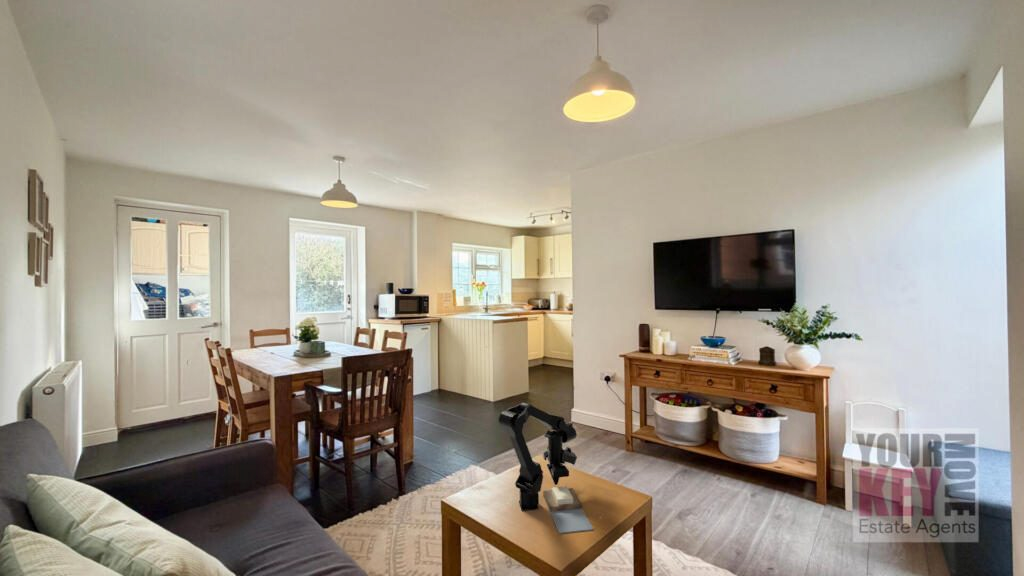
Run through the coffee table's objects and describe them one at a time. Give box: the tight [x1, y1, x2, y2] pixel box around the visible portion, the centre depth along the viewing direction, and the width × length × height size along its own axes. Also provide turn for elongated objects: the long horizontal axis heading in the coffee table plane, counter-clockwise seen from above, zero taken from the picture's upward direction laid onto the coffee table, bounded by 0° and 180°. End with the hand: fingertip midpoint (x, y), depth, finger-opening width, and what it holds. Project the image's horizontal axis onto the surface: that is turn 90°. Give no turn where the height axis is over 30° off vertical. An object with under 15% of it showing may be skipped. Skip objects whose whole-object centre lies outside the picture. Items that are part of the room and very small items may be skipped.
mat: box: [549, 508, 594, 535], centre depth 148 cm, size 12×13×1 cm
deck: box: [542, 487, 583, 512], centre depth 161 cm, size 12×12×2 cm
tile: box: [551, 485, 573, 505], centre depth 160 cm, size 6×9×2 cm, turn 8°
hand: (555, 484), depth 170 cm, fingers closed
